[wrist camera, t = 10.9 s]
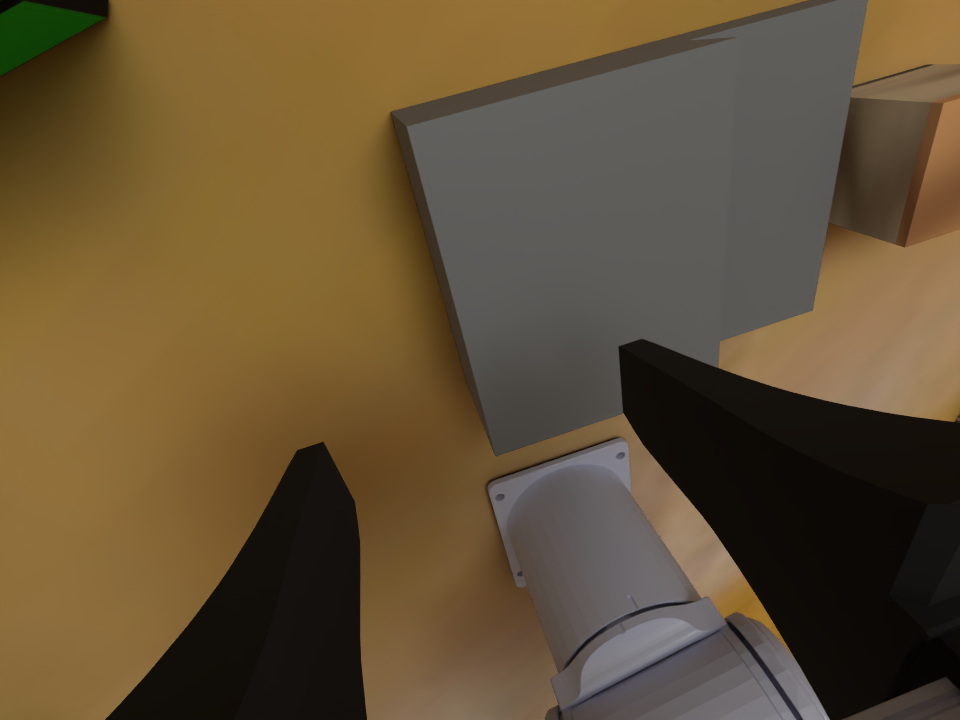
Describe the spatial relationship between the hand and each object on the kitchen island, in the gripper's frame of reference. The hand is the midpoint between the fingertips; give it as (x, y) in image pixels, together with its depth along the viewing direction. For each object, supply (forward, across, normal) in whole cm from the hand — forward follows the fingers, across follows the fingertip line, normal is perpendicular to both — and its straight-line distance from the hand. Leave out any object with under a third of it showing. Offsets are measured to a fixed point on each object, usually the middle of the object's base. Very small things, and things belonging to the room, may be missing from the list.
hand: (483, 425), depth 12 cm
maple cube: (+5, -20, 0) cm, 21 cm away
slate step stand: (+10, -8, 0) cm, 13 cm away
